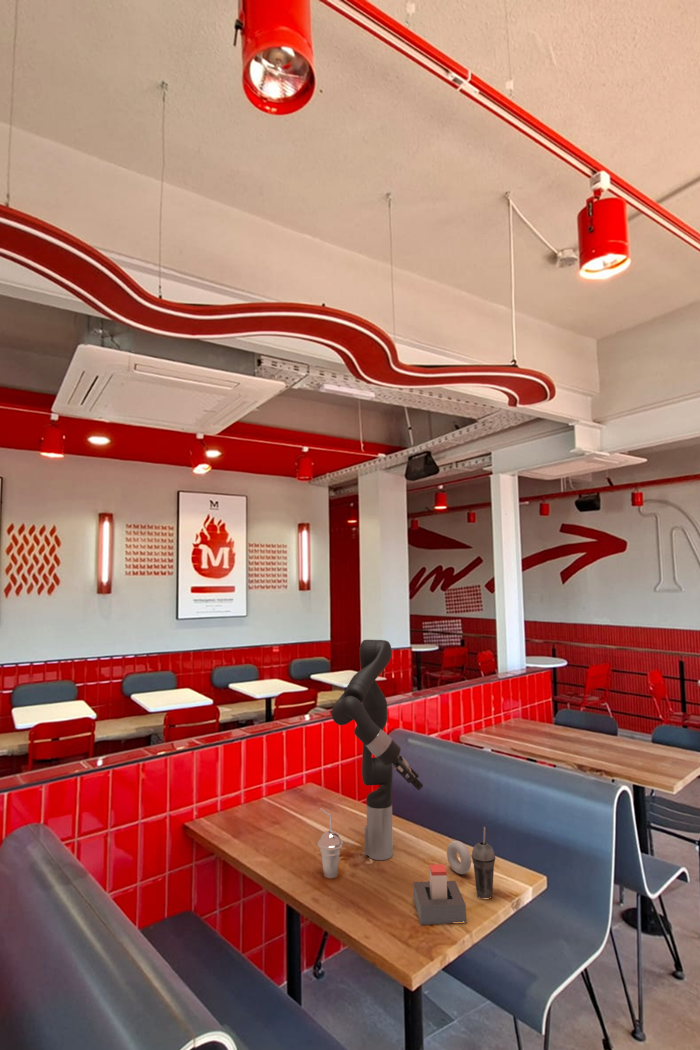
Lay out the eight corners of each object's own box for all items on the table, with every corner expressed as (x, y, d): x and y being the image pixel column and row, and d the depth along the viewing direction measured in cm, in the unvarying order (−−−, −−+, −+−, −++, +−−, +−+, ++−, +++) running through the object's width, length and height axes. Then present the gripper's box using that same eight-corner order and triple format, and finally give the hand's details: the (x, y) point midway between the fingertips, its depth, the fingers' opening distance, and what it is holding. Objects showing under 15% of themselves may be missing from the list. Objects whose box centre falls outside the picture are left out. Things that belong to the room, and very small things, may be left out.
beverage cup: (467, 895, 176) (466, 828, 178) (480, 886, 182) (479, 821, 183) (488, 905, 171) (486, 835, 173) (501, 895, 176) (499, 828, 178)
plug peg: (432, 915, 166) (431, 872, 168) (430, 906, 171) (429, 864, 172) (447, 915, 166) (446, 871, 168) (444, 906, 171) (443, 864, 172)
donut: (473, 877, 187) (473, 845, 188) (466, 881, 185) (465, 848, 186) (452, 865, 195) (451, 834, 196) (444, 868, 193) (444, 837, 194)
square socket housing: (420, 924, 162) (420, 906, 162) (413, 899, 175) (413, 882, 175) (466, 923, 162) (465, 904, 163) (455, 897, 175) (455, 880, 176)
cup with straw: (320, 883, 184) (320, 818, 186) (315, 869, 193) (314, 808, 195) (346, 879, 187) (345, 815, 189) (339, 866, 195) (339, 805, 197)
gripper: (393, 744, 177) (430, 782, 177) (388, 732, 191) (423, 766, 191) (376, 762, 176) (414, 800, 176) (372, 748, 191) (407, 783, 190)
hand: (418, 782), depth 183 cm, fingers open, 8 cm apart
